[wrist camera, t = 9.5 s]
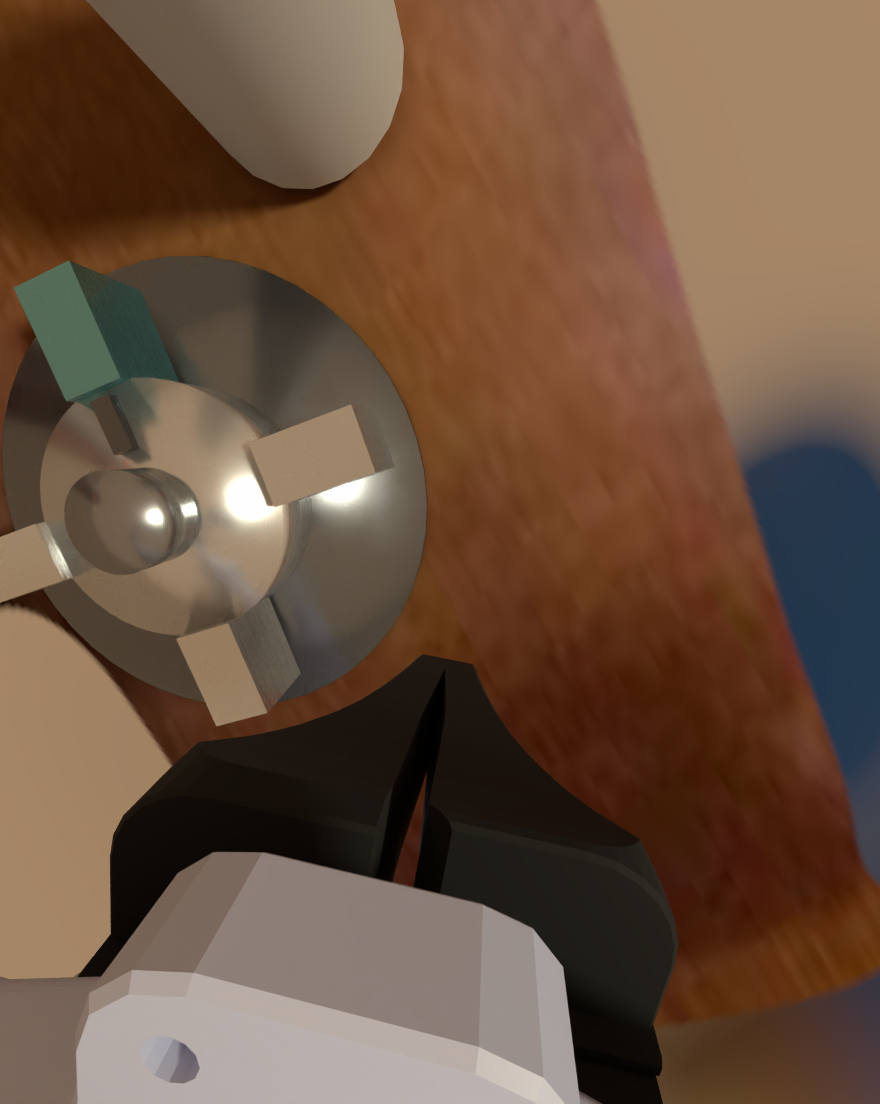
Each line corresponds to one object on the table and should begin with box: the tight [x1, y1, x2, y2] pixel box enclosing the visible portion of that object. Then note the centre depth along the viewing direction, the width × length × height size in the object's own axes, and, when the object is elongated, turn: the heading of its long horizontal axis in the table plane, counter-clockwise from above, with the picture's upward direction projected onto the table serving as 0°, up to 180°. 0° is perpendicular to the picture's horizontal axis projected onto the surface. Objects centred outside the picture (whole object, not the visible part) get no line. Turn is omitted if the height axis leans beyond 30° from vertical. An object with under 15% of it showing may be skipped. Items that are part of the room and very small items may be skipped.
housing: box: [2, 256, 427, 702], centre depth 19 cm, size 20×20×6 cm
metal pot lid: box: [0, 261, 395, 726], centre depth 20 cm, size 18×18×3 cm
